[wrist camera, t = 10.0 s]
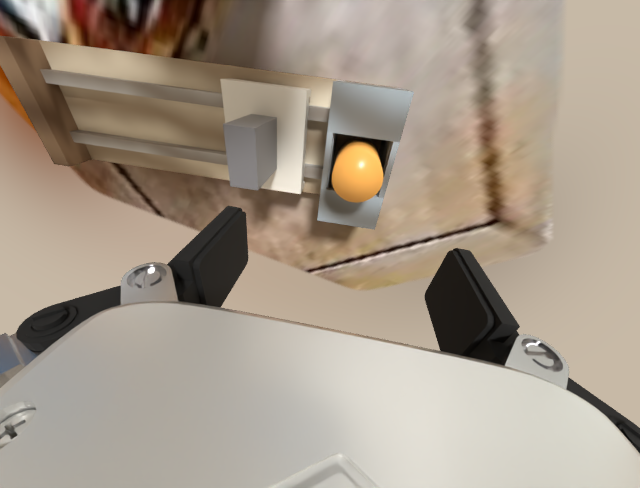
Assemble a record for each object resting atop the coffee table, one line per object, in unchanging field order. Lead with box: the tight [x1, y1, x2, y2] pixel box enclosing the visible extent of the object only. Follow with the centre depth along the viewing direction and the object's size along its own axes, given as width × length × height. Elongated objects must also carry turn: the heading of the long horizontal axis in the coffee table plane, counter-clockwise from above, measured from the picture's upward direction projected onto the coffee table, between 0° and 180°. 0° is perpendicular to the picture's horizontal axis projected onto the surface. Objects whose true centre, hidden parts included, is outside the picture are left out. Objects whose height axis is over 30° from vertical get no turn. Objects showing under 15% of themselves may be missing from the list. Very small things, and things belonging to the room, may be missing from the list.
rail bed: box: [0, 36, 414, 229], centre depth 25 cm, size 12×39×8 cm, turn 84°
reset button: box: [332, 138, 383, 203], centre depth 21 cm, size 4×4×5 cm
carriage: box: [220, 79, 311, 194], centre depth 23 cm, size 10×8×8 cm
